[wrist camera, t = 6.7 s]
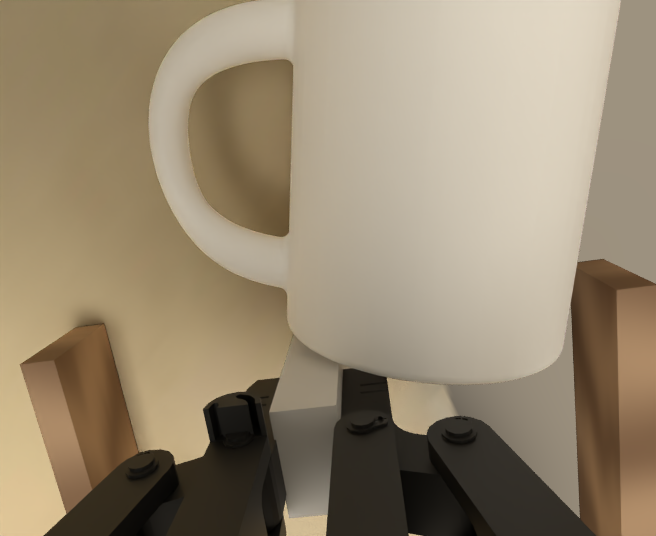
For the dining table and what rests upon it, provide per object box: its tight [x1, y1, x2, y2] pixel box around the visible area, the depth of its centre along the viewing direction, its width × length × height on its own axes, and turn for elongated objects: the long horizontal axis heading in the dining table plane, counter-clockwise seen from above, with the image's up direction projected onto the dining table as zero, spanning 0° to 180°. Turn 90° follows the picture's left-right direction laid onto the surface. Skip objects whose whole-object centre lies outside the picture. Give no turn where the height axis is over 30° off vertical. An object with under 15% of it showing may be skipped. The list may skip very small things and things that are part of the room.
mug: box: [148, 0, 621, 385], centre depth 14 cm, size 12×10×8 cm
